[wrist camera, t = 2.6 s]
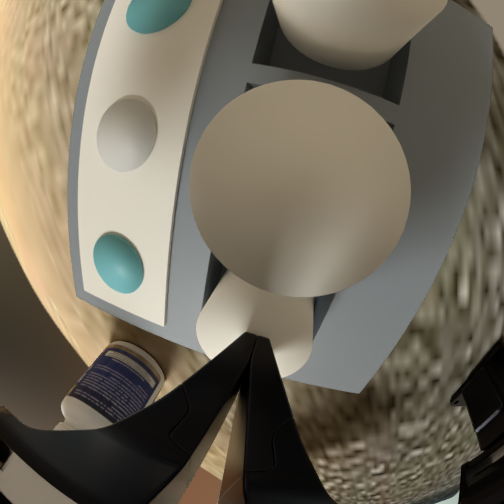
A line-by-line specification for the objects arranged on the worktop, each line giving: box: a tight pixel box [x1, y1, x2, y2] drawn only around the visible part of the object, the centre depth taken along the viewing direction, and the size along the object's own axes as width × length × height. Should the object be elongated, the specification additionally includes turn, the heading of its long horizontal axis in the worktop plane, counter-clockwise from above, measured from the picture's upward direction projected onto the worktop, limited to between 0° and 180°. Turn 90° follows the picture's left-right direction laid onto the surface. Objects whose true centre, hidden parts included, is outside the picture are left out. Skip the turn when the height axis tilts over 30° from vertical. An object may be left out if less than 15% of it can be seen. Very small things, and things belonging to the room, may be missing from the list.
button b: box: [189, 79, 411, 297], centre depth 6 cm, size 4×4×4 cm
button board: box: [68, 0, 493, 394], centre depth 9 cm, size 16×18×3 cm
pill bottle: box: [54, 341, 164, 430], centre depth 14 cm, size 5×5×10 cm
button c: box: [196, 269, 314, 378], centre depth 10 cm, size 4×4×4 cm
